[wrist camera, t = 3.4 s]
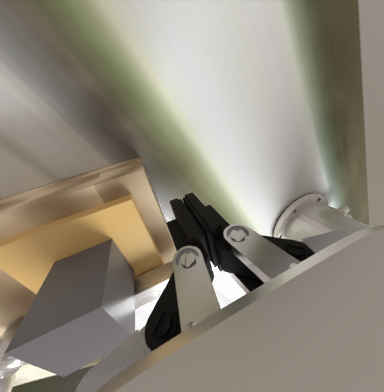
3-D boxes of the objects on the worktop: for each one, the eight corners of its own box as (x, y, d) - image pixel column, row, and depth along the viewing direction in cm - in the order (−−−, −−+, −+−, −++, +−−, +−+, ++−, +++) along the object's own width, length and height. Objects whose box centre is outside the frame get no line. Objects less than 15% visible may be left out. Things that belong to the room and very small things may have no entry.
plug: (131, 181, 14) (131, 250, 6) (161, 246, 19) (183, 332, 11) (21, 218, 12) (-157, 373, 5) (84, 280, 17) (45, 411, 9)
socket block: (139, 156, 15) (143, 169, 11) (176, 248, 22) (187, 278, 18) (-56, 216, 12) (-155, 266, 8) (58, 302, 19) (37, 353, 15)
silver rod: (227, 225, 16) (243, 241, 14) (229, 238, 17) (244, 256, 15) (-1, 328, 12) (-32, 376, 10) (18, 337, 13) (-5, 383, 11)
